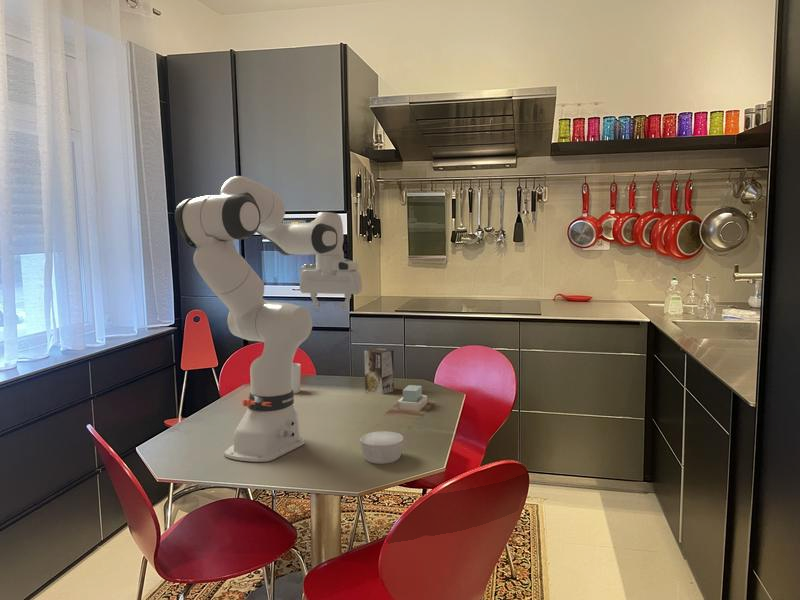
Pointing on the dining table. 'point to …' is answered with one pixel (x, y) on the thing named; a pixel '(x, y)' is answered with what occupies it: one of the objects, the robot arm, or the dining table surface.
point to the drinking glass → (296, 377)
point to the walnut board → (409, 411)
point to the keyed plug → (412, 393)
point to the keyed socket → (412, 404)
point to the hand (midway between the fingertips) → (330, 307)
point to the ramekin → (381, 447)
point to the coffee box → (379, 370)
